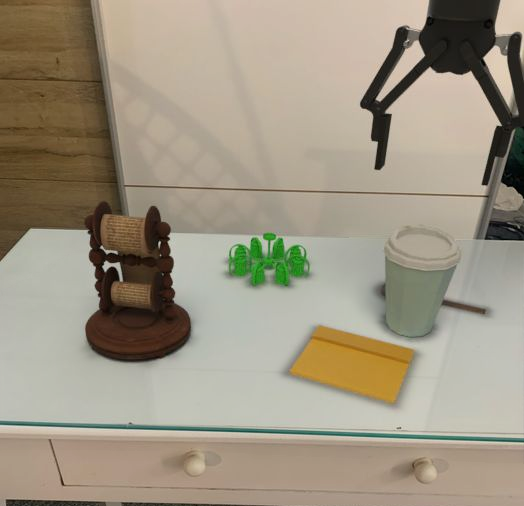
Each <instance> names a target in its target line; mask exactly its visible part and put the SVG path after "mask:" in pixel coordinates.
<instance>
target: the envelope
mask: <svg viewBox="0 0 524 506" xmlns="http://www.w3.org/2000/svg"><path fill="white" fill-rule="evenodd" d="M414 353H415V349H414V348H410V347H405V346H402V345H398V344H394V343H390V342H386V341H382V340H377V339H375V338H371V337H367V336H363V335H359V334H355V333H353V332H348V331H344V330H341V329H336V328H333V327H329V326H325V325H321V324H320V325H318V327H317V328H316V329H315V331H314V332H313V333H312V337H311V339H310V340H309V342H308V344H307V345H306V347H305V348H304V349H303V351H302V352H301V354H300V355H299V357H298V358H297V359H296V361H295V362H294V364H293V366H292V367H291V368H290V370H289V374H290V375H294V376H298V377H301V378H305V379H308V380H311V381H315V382H318V383H322V384H325V385H328V386H331V387H334V388H339V389H342V390H345V391H349V392H352V393H356V394H358V395H362V396H366V397H370V398H373V399H376V400H380V401H383V402H387V403H389V404H393V405H394V404H395V401H396V399H397V397H398V394H399V391H400V389H401V387H402V384H403V382H404V379H405V377H406V374H407V371H408V369H409V366H410V364H411V362H412V359H413V357H414Z"/></svg>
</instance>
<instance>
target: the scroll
mask: <svg viewBox="0 0 524 506" xmlns="http://www.w3.org/2000/svg"><path fill="white" fill-rule="evenodd" d="M161 217H162V216H161V212H160V210H159V208H158V207H157V206H156V205H151V206H150V207H149V208H148V210H147V212H146V214H145V217H141V216H140V217H139V216H131V215H121V214H119V215H118V214H113V211H112V207H111V206H110V204H109V202H107V201H105V200H101V201H100V202H98V204H97V205H96V206H95V208H94V212H93V214H89V215H87V216H86V217H85V219H84V222H83V223H84V226H85V228H86V229H87V232H86V233H87V235H89V236H90V237H89V242H88V243H89V247H90V248H91V249H90V250H89V252H88V260H89V262H90V263H91V264H92V266H93V267H95V269H94V278H95V279H96V282H94V289H95V291H96V292H97V297H98V298H99V302H98V308H99V309H97V310H96V311H95V312H94V313H92V314H91V315H90V316H89V318H88V319H87V320H86V323H85V327H84V329H85V330H84V331H85V337H86V341H87V343H88V344H89V346H90V347H91V349H92V351H96V352H97V353H100V354H102V355H103V356H104V355H105V356H107V357H111V358H114V359H121V360H142V359H150V358H154V357H157V358H158V359H164V358H165V357H166V356H165V355H166V354H167V353H169V352H172V351H173V350H175V349H177V348H178V347H180V346H181V345H183V344H184V342H185V341H187V340H188V338H189V336H190V334H191V330H192V322H191V316H190V314H189V313H188V311H187V310H186V309H185V308H184V307H183V306H181V305H180V304H177V303H176V302H175V300H174V298H175V297H176V290H175V289H174V288H173V286H174V281H173V277H172V275H171V274H172V273H173V270H174V267H175V260H174V258H173V256H171V252H172V250H171V247H170V244H169V241H171V237H170V235H171V231H172V228H171V225H170V224H169V223H168V222H166V221H162V218H161ZM159 243H160V244H159ZM101 247H102V248H101ZM106 251H111V252H106ZM115 252H116V253H115ZM106 262H107V263H109V264H118V263H119V266H120V272H121V277H120V273H119V270H118V269H117V267H116V266H109V267H108V268H107V269H106V271H105V269H104V267H103V266H105V263H106ZM121 278H122V279H121ZM121 280H122V281H121Z"/></svg>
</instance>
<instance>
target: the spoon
mask: <svg viewBox="0 0 524 506" xmlns="http://www.w3.org/2000/svg"><path fill="white" fill-rule="evenodd" d="M380 294H381V296H383V297H384V298H386V282H384V283H383V284H382V285H381V286H380ZM441 306H445V307H446V306H447V307H450V308H455V309H459V310H464V311H466V312H467V311H468V312H472V313H477V314H481V315H486V311H487V309H486V308H481V307H477V306H473V305H468V304H465V303H460V302H455V301H452V300H451V301H450V300H446V299H443V301H442V304H441Z"/></svg>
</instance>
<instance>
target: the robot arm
mask: <svg viewBox="0 0 524 506" xmlns="http://www.w3.org/2000/svg"><path fill="white" fill-rule="evenodd" d="M500 4H501V0H428V6H427V10H426V11H427V12H426V19H425V23H424V26H423V27H422V29H417V28H411V27H410V26H409V25H407V24H405V25H402V26H399V27H397V29H396V30H395V34H394V38H393V42H392V47H391V48H390V50H389V52H388V54H387V56H386V57H385V59H384V61H383V62H382V63H381V65H380V67H379V69H378V71H377V72H376V74H375V76H374V78H373V79H372V81H371V82H370V84H369V86H368V88H367V90H366V91H365V92H364V95H363V96H362V98H361V100H360V102H359V106H360V108H361V109H363V110H366V111H368V112H370V113H371V115H372V123H371V131H370V132H371V133H370V140H371V142H375V143H377V146H376V152H375V159H374V167H373V168H374V171H375V170H376V171H381V169H383V167H384V166H385V165H386V158H387V151H388V144H389V137H390V132H391V131H390V130H391V124H392V116H393V115H392V113H389V112H387V110H389V108H390V107H392V106H393V104H394V103H395V102H396V101H398V100H399V98H401V96H402V95H404V94H405V93H406V91H407V90H408V89H409V88H411V86H412V85H413V84H415V83H416V81H417V80H419V78H420V77H422V76H423V74H425V73H426V72H427V71H428V70H429V69H431V70H432V71H433V72H435V74H446V73H450V74H454V75H458V76H463V75H466V74H468V73H470V72H471V74H472V76H473V77H474V79H475V80H476V82H477V83H478V85H479V87H480V89H481V90H482V92H483V94H484V96H485V97H486V100H487V102H488V104H489V105H490V107H491V109H492V111H493V112H494V114H495V116H496V118H497V120H498V122H499V124H500V125H496V126H495V129H494V132H493V136H492V140H491V144H490V146H489V147H490V148H489V151H488V156H487V160H486V164H485V167H484V172H483V176H482V181H481V184H480V185H481V186H486V187H488V186H489V183H490V179H491V177H492V172H493V169H494V165H495V161H496V158H502V159H503V158H505V156H506V155H507V153H508V150H509V145H510V142H511V138H512V134H513V132H514V131H515V130H516V129H517V128H522V127H524V66H523V63H522V58H521V50H522V49H521V48H522V43H523V34H522V32H521V31H515V32H513V33H503V34H497V32H496V22H497V20H498V19H497V18H498V13H499V9H500ZM416 41H417V42H418V44H419V47H420V48H421V50H422V53H423V55H424V56H423V57H422V58H420V60H419V61H418V62H416V64H415V65H414V66H413V68H412V69H411V70H410V71H408V72H407V74H406V75H405V76H404V77H403V78H401V80H399V82H397V84H396V85H395V86H394V87H393V88H392V89H391V90H390V91H389V92H388V93H387V94H386V95H385V96H384V97H383V98H382V99H381V100H378V96H379V95H380V93H381V92H382V90H383V88H384V87H385V85H386V84H387V82H388V80H389V79H390V76H391V75H392V73H394V70H395V68H396V67H397V65H398V64H399V62H400V60H401V59H402V57H403V55H404V54H405V51H406V50H407V49H409V48H412V46H413V45H414V43H415V42H416ZM495 46H496V47H498V49H499V51H500V54H501V55H502V56H504V57H506V63H507V68H508V72H509V77H510V81H511V86H512V91H513V95H514V99H515V104H516V109H517V112H518V114H515V115H514V114H513V112H512V111H511V109H510V107H509V105H508V103H507V101H506V100H505V97H504V95H503V93H502V92H501V90H500V88H499V86H498V84H497V82H496V81H495V79H494V77H493V75H492V73H491V71H490V68H489V67H488V65H487V62H486V60H485V59H484V58H485V57H486V56H487V55H488V54H489V52H491V50H492V49H493V48H494V47H495Z"/></svg>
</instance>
